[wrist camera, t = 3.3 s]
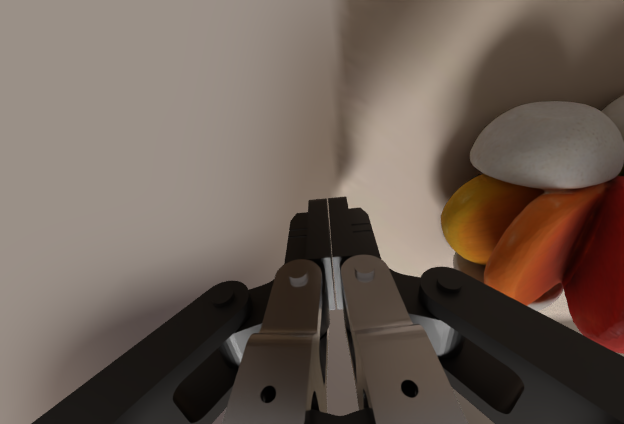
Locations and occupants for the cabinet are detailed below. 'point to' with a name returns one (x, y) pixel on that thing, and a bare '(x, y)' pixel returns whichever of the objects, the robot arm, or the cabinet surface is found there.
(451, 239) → the rainbow disc stack
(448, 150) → the cabinet surface
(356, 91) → the cabinet surface
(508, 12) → the cabinet surface
